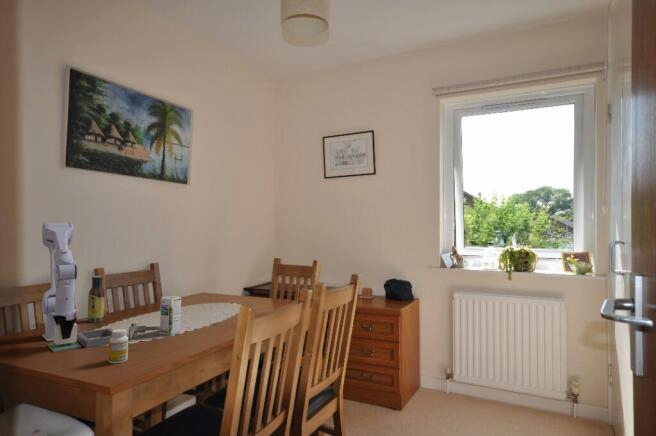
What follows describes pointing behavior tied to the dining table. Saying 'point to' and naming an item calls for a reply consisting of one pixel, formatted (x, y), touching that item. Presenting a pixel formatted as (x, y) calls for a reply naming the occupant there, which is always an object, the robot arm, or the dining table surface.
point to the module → (58, 335)
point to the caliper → (139, 330)
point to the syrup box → (170, 315)
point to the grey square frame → (87, 343)
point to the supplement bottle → (118, 346)
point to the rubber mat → (63, 346)
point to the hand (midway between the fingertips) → (64, 337)
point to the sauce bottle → (96, 300)
